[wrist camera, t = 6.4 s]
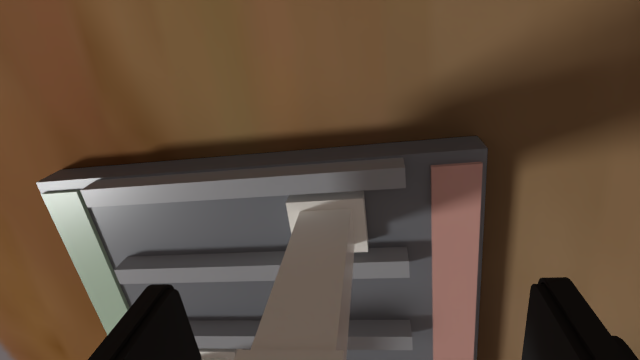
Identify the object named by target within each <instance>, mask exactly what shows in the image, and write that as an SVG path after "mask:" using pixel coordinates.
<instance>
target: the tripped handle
mask: <svg viewBox="0 0 640 360" xmlns="http://www.w3.org/2000/svg"><path fill="white" fill-rule="evenodd" d="M286 208H287V213H288V219H289V224H290V229H291V237H290V240H289V243H288V246H287V248H286V251H285V254H284V257H283V260H282V262H281V265H280V268H279V271H278V274H277V276H276V279H275V282H274V285H273V288H272V290H271V293H270V296H269V299H268V302H267V304H266V307H265V310H264V313H263V316H262V318H261V321H260V324H259V327H258V330H257V332H256V335H255V338H254V341H253V344H252V346H251V349H250V350H243V349H238V350H237V353H236V355H235V358H234V360H346V357H347V343H348V329H349V316H350V302H351V288H352V275H353V261H354V252H368V231H367V220H366V209H365V199H364V191H349V192H332V193H316V194H300V195H289V196H288V199H287V201H286Z"/></svg>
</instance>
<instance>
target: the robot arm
mask: <svg viewBox="0 0 640 360" xmlns="http://www.w3.org/2000/svg"><path fill="white" fill-rule="evenodd" d="M88 360H202V359H201V354H200V352H199V349H198V346H197V343H196V340H195V337H194V334H193V331H192V328H191V325H190V322H189V320H188V317H187V314H186V311H185V308H184V305H183V302H182V299H181V296H180V293H179V291H178V290H176V289H174V287H173V286H172V285H170V284H151V285H149V286H147V287H146V288H145V290H144V291H143V292H142V293H141V295H140V296H139V297H138V298H137V300H136V301H135V302H134V303H133V305H132V306H131V307H130V308H129V309H128V311H127V312H126V313H125V314H124V316H123V317H122V318H121V319H120V321H119V322H118V323H117V324H116V326H115V327H114V328H113V329H112V331H111V332H110V333H109V334H108V335H107V337H106V338H105V339H104V340H103V342H102V343H101V344H100V345H99V347H98V348H97V349H96V350H95V352H94V353H93V354H92V355H91V356H90V358H89V359H88ZM522 360H639V359H638V358H637V357H636V356H635V354H634V353H633V352H632V350H631V349H630V348H629V346H628V345H627V344H626V343H625V342H624V341H623V340H622V339H621V338H619V337H617V336H611V335H610V333H609V332H608V331H607V329H606V328H605V326H604V325H603V324H602V322H601V321H600V320H599V318H598V317H597V316H596V314H595V313H594V311H593V310H592V309H591V307H590V306H589V305H588V303H587V302H586V301H585V299H584V298H583V296H582V295H581V294H580V292H579V291H578V290H577V288H576V287H575V285H574V284H573V283H572V281H571V280H570V279H569V278H566V277H563V278H540V280H539V282H538V284H532V286H531V290H530V298H529V305H528V313H527V321H526V329H525V337H524V345H523V353H522Z"/></svg>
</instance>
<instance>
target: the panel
mask: <svg viewBox="0 0 640 360" xmlns="http://www.w3.org/2000/svg"><path fill="white" fill-rule="evenodd" d="M487 153H488V148H487V147H486V146H485V144H484V143H483V142H482V141H481V140H480V138H479V137H478V136H468V137H455V138H443V139H431V140H418V141H406V142H394V143H381V144H369V145H357V146H345V147H332V148H320V149H308V150H295V151H283V152H271V153H259V154H246V155H234V156H222V157H209V158H197V159H185V160H173V161H160V162H148V163H136V164H123V165H111V166H99V167H86V168H74V169H62V170H59V171H57V172H55V173H53V174H52V175H50V176H48V177H46V178H44V179H42V180H40V181H38V182H36V184H37V186H38V188H39V190H40V192H41V196H42V198H43V200H44V202H45V204H46V206H47V208H48V210H49V213H50V215H51V217H52V219H53V221H54V223H55V225H56V227H57V229H58V232H59V234H60V236H61V238H62V240H63V242H64V244H65V246H66V248H67V251H68V253H69V255H70V257H71V259H72V261H73V263H74V265H75V268H76V270H77V272H78V274H79V276H80V278H81V280H82V282H83V284H84V287H85V289H86V291H87V293H88V295H89V297H90V299H91V301H92V303H93V306H94V308H95V310H96V312H97V314H98V316H99V318H100V320H101V322H102V325H103V327H104V329H105V331H106V333H107V335H108V334H109V333H110V332H111V331H112V329H113V328H114V327H115V326H116V324H117V323H118V322H119V321H120V319H121V318H122V317H123V316H124V314H125V313H126V312H127V311H128V309H129V308H130V307H131V306H132V305H133V303H134V302H135V301H136V300H137V298H138V297H139V296H140V295H141V293H142V292H143V291H144V290H145V288H146V287H147V286H149V285H151V284H170V285H172V286H173V287H174V289H176V290H178V291H179V293H180V296H181V299H182V302H183V305H184V308H185V311H186V314H187V317H188V320H189V322H190V325H191V328H192V331H193V334H194V337H195V340H196V343H197V346H198V348H218V349H243V350H250V349H251V346H252V344H253V341H254V338H255V335H256V332H257V330H258V327H259V324H260V321H261V318H262V316H263V313H264V310H265V307H266V304H267V302H268V299H269V296H270V293H271V290H272V288H273V285H274V282H275V279H276V276H277V274H278V271H279V268H280V265H281V262H282V260H283V257H284V254H285V251H286V248H287V246H288V243H289V240H290V237H291V229H290V224H289V219H288V213H287V208H286V201H287V199H288V196H289V195H300V194H316V193H332V192H349V191H364V199H365V209H366V220H367V231H368V252H354V261H353V275H352V288H351V302H350V316H349V329H348V343H347V357H346V360H477V345H478V326H479V307H480V288H481V268H482V249H483V230H484V211H485V191H486V172H487Z"/></svg>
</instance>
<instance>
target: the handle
mask: <svg viewBox="0 0 640 360" xmlns="http://www.w3.org/2000/svg"><path fill="white" fill-rule="evenodd" d="M198 349H199V352H200V354H201V359H202V360H234V358H235V355H236V353H237V350H238V349H218V348H198Z"/></svg>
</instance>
